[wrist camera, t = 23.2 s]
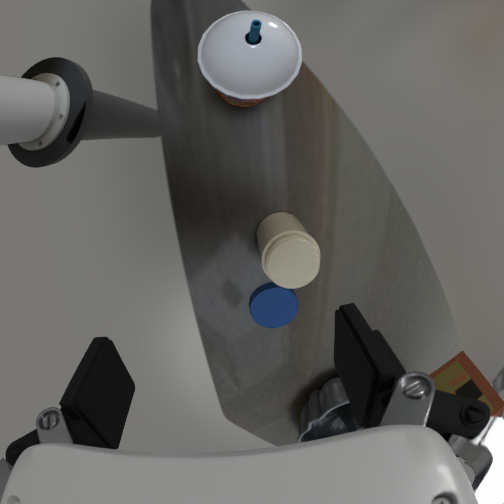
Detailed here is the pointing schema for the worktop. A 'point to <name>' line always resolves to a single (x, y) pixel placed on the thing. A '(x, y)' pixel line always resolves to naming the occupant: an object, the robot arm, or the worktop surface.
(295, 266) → the jam jar
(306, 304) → the worktop surface
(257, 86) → the smoothie
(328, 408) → the bundt pan
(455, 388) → the box
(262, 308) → the jam lid
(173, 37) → the worktop surface
